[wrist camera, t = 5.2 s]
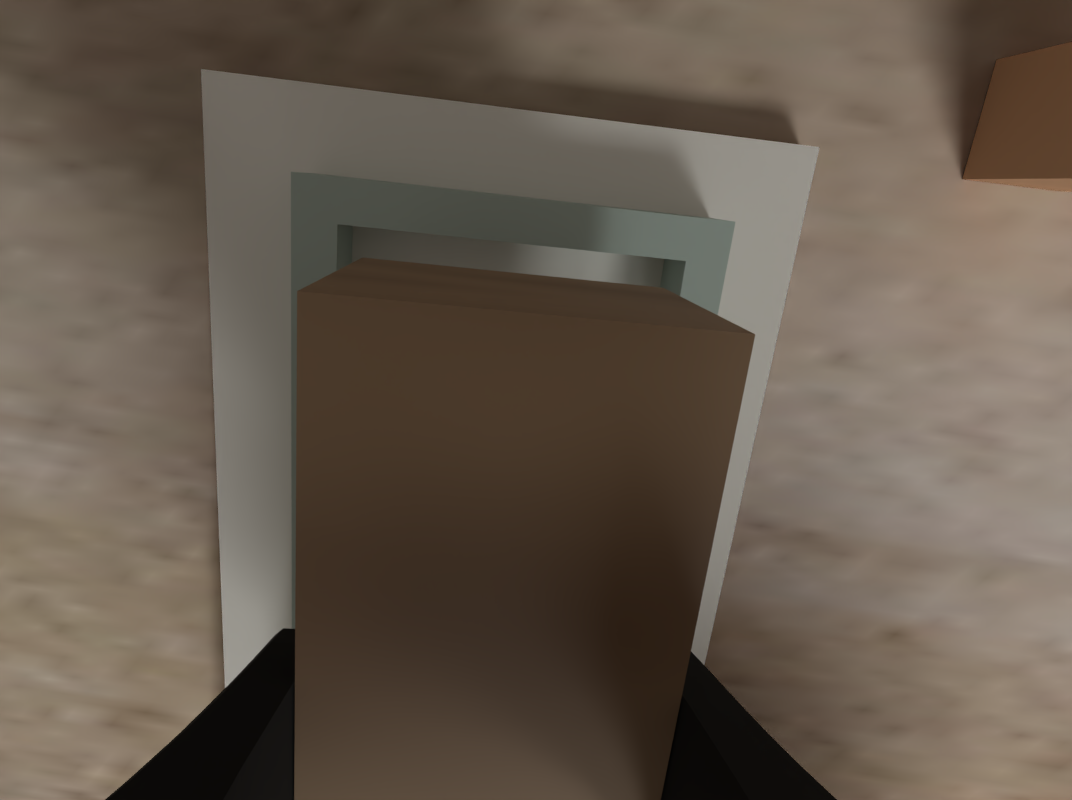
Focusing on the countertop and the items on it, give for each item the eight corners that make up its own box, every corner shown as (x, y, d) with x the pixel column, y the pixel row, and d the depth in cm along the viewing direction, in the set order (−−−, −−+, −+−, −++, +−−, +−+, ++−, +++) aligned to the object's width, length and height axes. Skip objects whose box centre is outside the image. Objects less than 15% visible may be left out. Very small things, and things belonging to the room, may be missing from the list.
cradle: (662, 796, 20) (684, 873, 18) (240, 788, 18) (207, 869, 16) (801, 148, 14) (859, 143, 12) (217, 75, 13) (164, 53, 11)
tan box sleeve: (575, 833, 15) (608, 1056, 11) (343, 830, 14) (292, 1064, 10) (662, 287, 11) (754, 335, 8) (362, 257, 11) (296, 291, 7)
